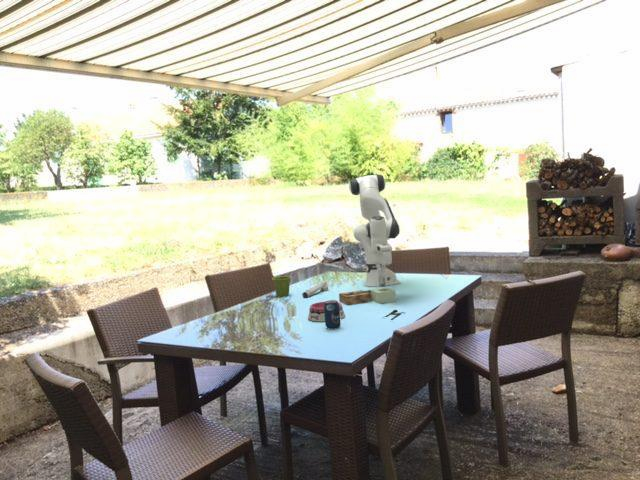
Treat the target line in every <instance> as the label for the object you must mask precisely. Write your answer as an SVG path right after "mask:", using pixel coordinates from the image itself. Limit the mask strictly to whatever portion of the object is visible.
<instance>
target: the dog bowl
mask: <svg viewBox="0 0 640 480" xmlns="http://www.w3.org/2000/svg"><path fill="white" fill-rule="evenodd" d="M325 302H326V301H319V302H314V303H312V304H310V306H309V309H308V311H309V312H308V315H307V316H308V317H307V321H308V322H311V321H312V323H325V313H324V304H325ZM338 304H339V310H340V319H341V320H343V319H345V318H346V314H345V312H344V309H343V306H342V302H340V301H338Z"/></svg>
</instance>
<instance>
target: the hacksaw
mask: <svg viewBox="0 0 640 480" xmlns="http://www.w3.org/2000/svg"><path fill="white" fill-rule="evenodd" d="M402 314H404V315H405V314H406V312H404V311H402V312H398V309H394V310H392V311H391V312H390V313H388V314H386V315H384V316H383V317H382V318H384V317H386V318H387V317H389V316H391V315H393V317H392V318H391V320H393V321H394V319H396V318H397V317H399V316H401V315H402ZM384 319H385V318H384Z"/></svg>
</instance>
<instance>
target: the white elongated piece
mask: <svg viewBox="0 0 640 480" xmlns="http://www.w3.org/2000/svg"><path fill="white" fill-rule="evenodd" d="M329 286H330V285H329V284H328V283H327V281H326V280H322V281H321V282H320V283H319V284H317V285H315V286H312V287H310V288H309V289H306V290H305V291H303V292H302V293H301V295H302V298H304V299H308V298H310V297H311V296H313V295H314V294H316V293H317V292H318V291H320V292H328V291H329Z"/></svg>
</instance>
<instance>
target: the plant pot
mask: <svg viewBox="0 0 640 480" xmlns="http://www.w3.org/2000/svg"><path fill="white" fill-rule="evenodd" d="M291 278H292V276H288V275H285V276H284V275H282V276H281V275H280V276H276V277H272V278H271V280H272V282H273V284H274V288H275V291H276V292H275V293H276V296H277V297H278V296H279V297H280V298H281V297H284V296H285V297H288V296H290V285H291V284H290V283H291ZM279 297H278V298H279Z"/></svg>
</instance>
